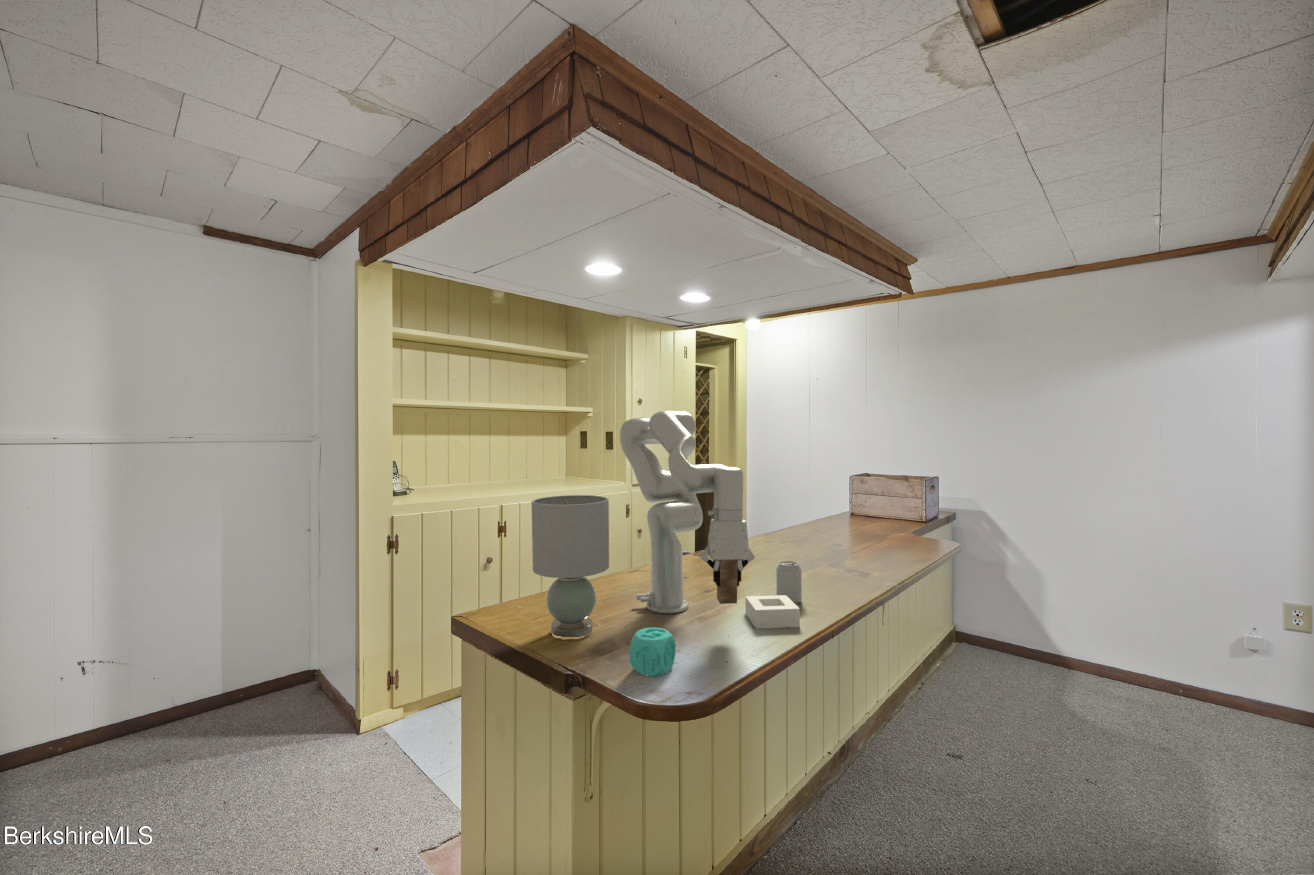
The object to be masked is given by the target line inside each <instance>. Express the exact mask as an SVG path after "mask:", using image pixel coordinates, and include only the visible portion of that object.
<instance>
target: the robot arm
mask: <svg viewBox="0 0 1314 875" xmlns="http://www.w3.org/2000/svg"><path fill="white" fill-rule="evenodd" d="M695 431H696V422H695V419H694V416H692V415H691V414H690V412H687V411H685V410H683V411H681V410H680V411H679V410H678V411H677V410H661V411H657V412H655V413H654V414H653V415H651V417H635V418H630V419H628V420H625V421H624V422H623V423H622V424H621V427H620V431H619V441H620V446H621V449H622V451H623V453H624V455H625V457H626V458H627V461H628V462H629V464H630V467H632V469H633V472H634V475H635V478H636V481H637V483H638V486H639V489H640V491H641V493H642V496H643V498H644V499H645V500H646V501H647V502H650V503H656V504H653V505H652V506H651V507H650V508H649V509H648V512H647V518H646V519H647V525H648V531H649V537H650V558H651V559H650V560H651V561H650V565H651V566H650V567H651V568H650V569H651V574H650V575H651V583H650V585H651V586H650V587H651V589H649V592H646V593H636V595H635V596H636V598H635V599H636V601H640V602H641V603H646V608H647V610H649V611H650V612H653V613H657V614H658V613H659V614H677V613H682V612H684V611H686V610H687V609H688V608H689V602H688V601H687V600H685V599H684V575H683V574H684V572H683V571H684V562H683V557H684V556H683V555H684V553H683V552H684V550H683V545H682V543H681V541H680V540H679V538H678V537H677V534H679V533H686V532H690V531H696V530H697V529H699V528H700V527H701V526H702V524H703V522H704V521H703V520H704V514H703V509H702V506H701V504H700V502H699V500H698V497H697V494H703V493H713V507H712V509H711V510H708V511H707V516H709V517H712V518H711V520H710V523H709V530H708V537H707V538H708V539H707V546H706V547H705V548H704V550H703V551H702V553H701V554H700V556H699V558H700V560H702V561H703V562H704V563H706V564H707V565H708V566H710V568H712V571H713V572H712V576H713V577H712V582H713V583H715V585H716V587H717V586H720V571H719V564H720V560H738V572H737V587H740V583H741V582H742V571H743V570H744V568H745V567H746V566H747V565H748V564H749V563H751V562H752V561H753V560H755V559H756V556H755V555H754V553H753V552H752V551H751V549H750V548H749V535H748V534H749V533H748V526H747V521H746V520H745V519H743V518H744V517H743V515H744V471H743V470H742V469H741V468H739V467H734V466H726V465H724V464H720V463H709V464H708V463H707V464H706V463H705V464H704V463H703V464H691V463H690V462H689V461H688V460H687V458H688V457H689V456H690V455H692V454H693V452H694V451H695V449H696V443H697V442H696V439H695V437H694V436H693V435H694V433H695ZM646 445H661V446H662V447H663V449H665V451H666V452H667V453H668V454H669V455H668V469H669V470H664V469H663V468H662V466H661V463H660V461H659V459H658V457H657V455H656V454H655V453H654V452H653V451H652V450H651V449H650V448H648V447H647V446H646ZM708 556H709V557H708Z"/></svg>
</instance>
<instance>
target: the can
mask: <svg viewBox="0 0 1314 875" xmlns="http://www.w3.org/2000/svg"><path fill="white" fill-rule="evenodd" d="M775 574H776V596H777V595H786V596H787V597H788V598H789V599H790V600H791V601H792V602H793V603H794V604H795V605H797V604H798V603H800V602H801V601H802V599H803V598H802V567H800V563H799V562H797V561H793V560H792V561H791V560H781V561H779V562H778V565H777V566H776V573H775Z"/></svg>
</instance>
